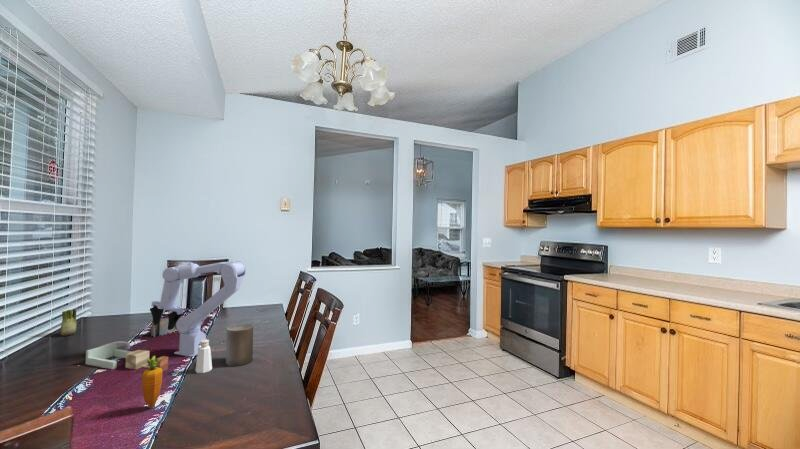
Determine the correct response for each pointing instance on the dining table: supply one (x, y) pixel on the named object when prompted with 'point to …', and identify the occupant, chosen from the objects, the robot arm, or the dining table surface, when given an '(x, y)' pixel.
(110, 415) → the dining table surface
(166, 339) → the dining table surface
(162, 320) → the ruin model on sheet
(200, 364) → the pepper shaker
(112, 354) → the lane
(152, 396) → the carrot
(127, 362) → the tethered block
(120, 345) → the stone block
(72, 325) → the fennel bulb
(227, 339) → the pillar candle
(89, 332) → the dining table surface
